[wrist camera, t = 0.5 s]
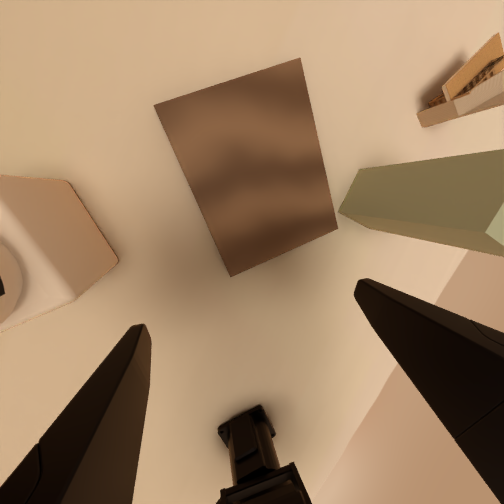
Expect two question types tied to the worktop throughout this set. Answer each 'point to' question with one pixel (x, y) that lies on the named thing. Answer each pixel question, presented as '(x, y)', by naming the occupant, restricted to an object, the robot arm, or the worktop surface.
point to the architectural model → (470, 86)
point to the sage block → (435, 200)
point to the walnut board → (253, 163)
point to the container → (45, 248)
